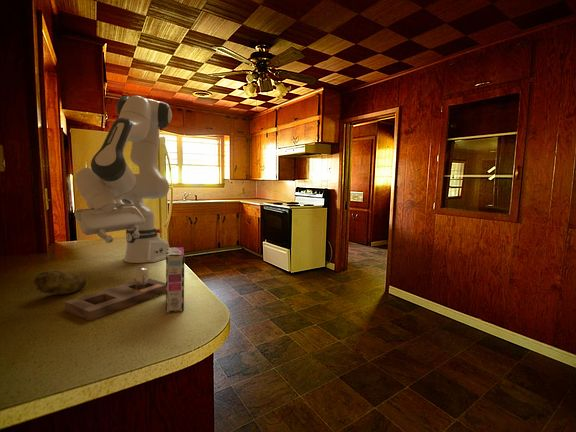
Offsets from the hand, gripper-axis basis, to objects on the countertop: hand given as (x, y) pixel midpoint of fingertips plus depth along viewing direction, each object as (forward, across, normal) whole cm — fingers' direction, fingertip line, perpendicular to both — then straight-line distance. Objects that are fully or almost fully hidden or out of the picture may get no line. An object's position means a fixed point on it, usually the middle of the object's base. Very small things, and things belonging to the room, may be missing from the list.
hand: (124, 239), depth 98 cm
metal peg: (+18, 0, +5) cm, 19 cm away
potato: (+4, -14, +20) cm, 25 cm away
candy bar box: (+29, -1, -6) cm, 30 cm away
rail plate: (+18, -7, +6) cm, 20 cm away
